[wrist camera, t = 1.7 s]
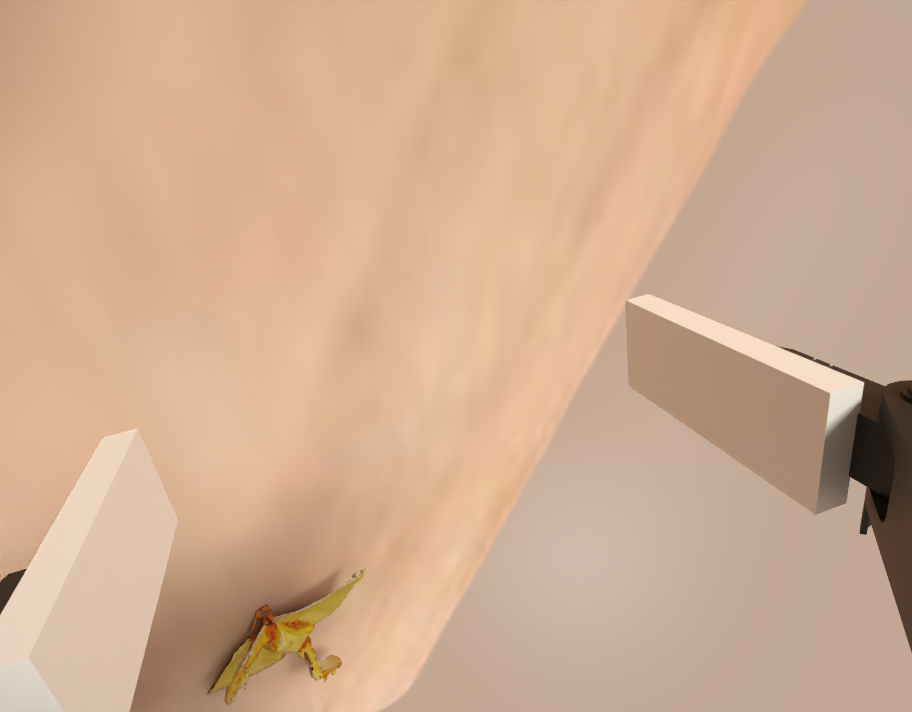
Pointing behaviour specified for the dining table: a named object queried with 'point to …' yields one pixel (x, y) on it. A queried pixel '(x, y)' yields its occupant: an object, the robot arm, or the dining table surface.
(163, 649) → the dining table surface
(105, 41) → the dining table surface
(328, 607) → the origami crane
